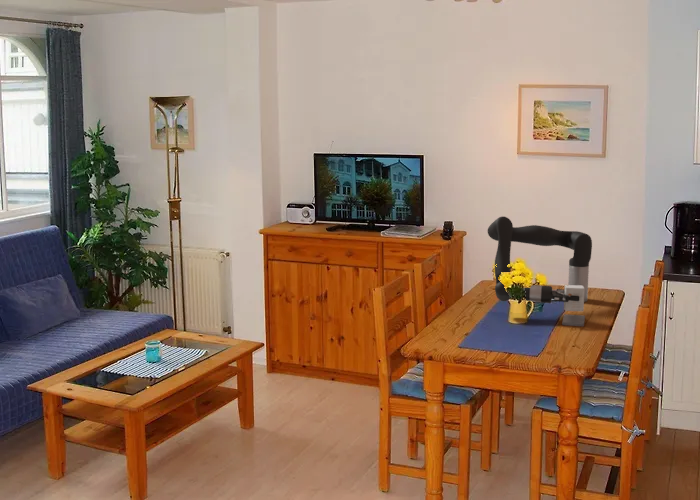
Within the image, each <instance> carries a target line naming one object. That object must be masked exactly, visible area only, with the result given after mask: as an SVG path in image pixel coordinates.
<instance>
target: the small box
mask: <svg viewBox="0 0 700 500" xmlns="http://www.w3.org/2000/svg"><path fill="white" fill-rule="evenodd" d="M563 290H564V293H566V295H570V296H571V295H573V296H579V301H568V302H563V310H564V311H565V312H585V311H584V310H585V309H584V307H585V302H584V291H585V288H584V287H583V286H582V285H568V284H565V285H564V289H563ZM565 299H566V298H565Z"/></svg>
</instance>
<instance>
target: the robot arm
mask: <svg viewBox="0 0 700 500" xmlns="http://www.w3.org/2000/svg"><path fill="white" fill-rule="evenodd" d="M487 235H488V236H489V237H490V239H492V240H493V241H496V242H497V241H498V242H497V243H498V244H497V249H496V254H495V258H494V276H495V277H494V278H495V287H494V290H495V295H496V298H497V299H498V300H499V301H501V302H508V301H509V300H510V299H509V295H508V293H507V292H506V291H505V288H504V285H503V284H502V283H501V282H500V281H499V280H498V277H499V275H500V274H501V272H510V271H511V267H510V268H508V267H507V265H508V264H510V265H511V249H512V243H513V242H515V243H520V244H527V245H528V244H529V245H535V246H542V247H550V246H551V247H552V246H559V247H564V248H567V249H569V250H570V249H571V250H573V257H572V258H570V259H569V261H568V284H567V285H582V286H583V287H584V288H585V291H584V303H586V302H588V295H589V293H588V291H589V272H590V271H589V270H590V269H589V268H590V267H589V266H590V262H591V259H592V249H593V240H592V237H591V235H589V234H587V233H585V232H582V231H578V230H576V231H574V230H573V231H572V230H571V231H570V230H569V231H568V230H560V229H559V230H558V229H556V228H552V227H550V226H549V227H548V226H543V225H537V224H534V225H533V224H532V225H525V226H518V227H517V226H516V227H514V225H513V222H512V220H511V219H510V218H509V217H507V216H499V217H498V218H496V219H494V221H492V223H491V224H490V225H489V226H488V228H487ZM496 264H497V265H496ZM495 265H496V266H497V267H496V266H495ZM525 291H526V300H527V302H533V303H544V304H551V303H552V300H554V302H561V303H564V302H568V301H579V296H573V295H571V296H570V295H566V293H564V289H562V288H561V289H560V288H556V290H553V286H552V285H543V284H542V285H539V284H534V285H533V284H532V286H531V288H525ZM565 298H566V299H565Z"/></svg>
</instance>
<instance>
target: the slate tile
mask: <svg viewBox="0 0 700 500" xmlns="http://www.w3.org/2000/svg"><path fill="white" fill-rule="evenodd" d="M585 320H586V315H582V314H581V315H580V314H567V313H564V315H563V318H562V321H561V322H562V323H561V325H562V326H571V327H585Z"/></svg>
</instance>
